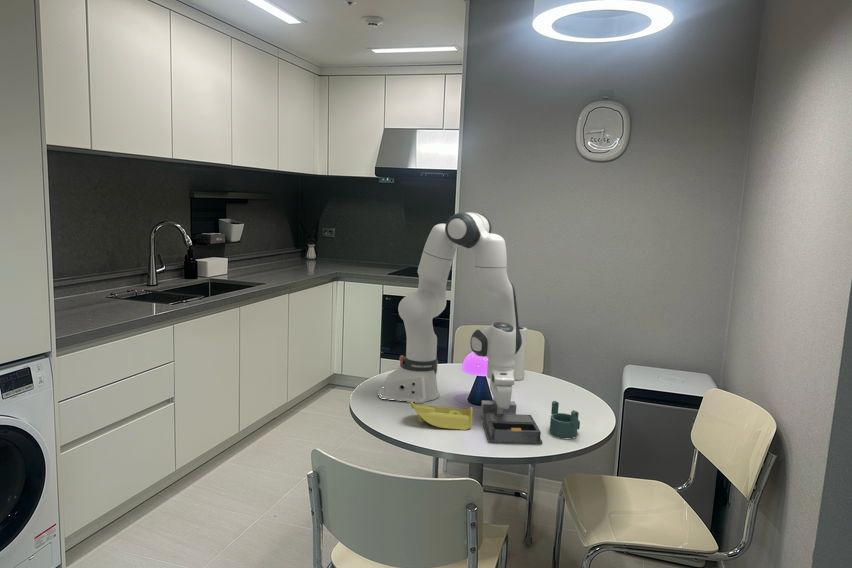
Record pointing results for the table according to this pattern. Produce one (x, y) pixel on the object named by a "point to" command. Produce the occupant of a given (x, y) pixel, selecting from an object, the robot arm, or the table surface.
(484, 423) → the grey flat box
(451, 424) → the plastic component
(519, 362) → the paper towel roll
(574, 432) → the bracket
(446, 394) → the table surface
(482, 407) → the gray metallic block
